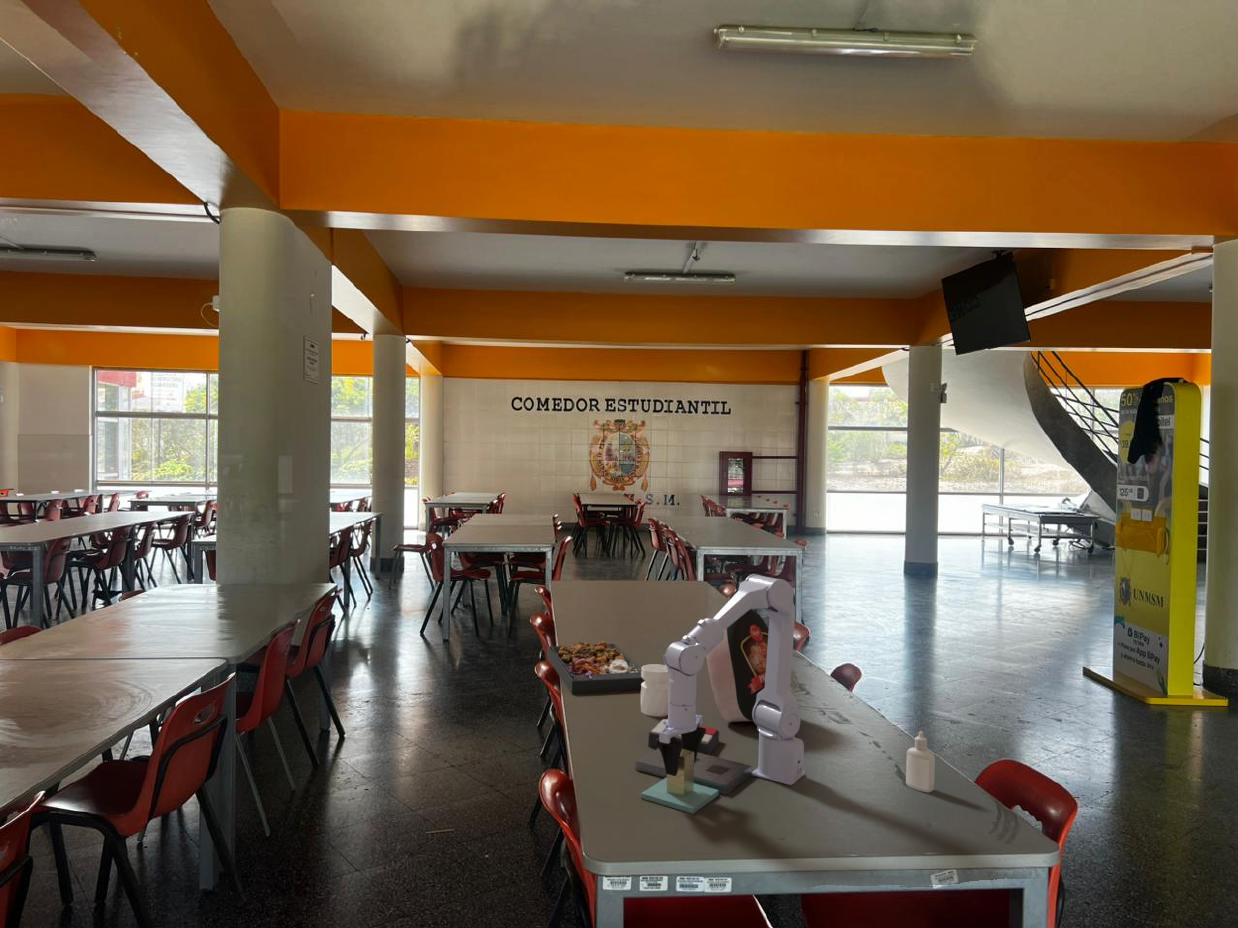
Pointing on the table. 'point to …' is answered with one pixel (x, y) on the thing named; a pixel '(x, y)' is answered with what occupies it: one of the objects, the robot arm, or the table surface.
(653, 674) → the white jar
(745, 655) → the packaged food
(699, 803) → the pad
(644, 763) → the grey square-hole board
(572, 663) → the food platter
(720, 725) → the table surface
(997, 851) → the table surface
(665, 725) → the robot arm
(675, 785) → the wooden block
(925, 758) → the eye dropper bottle
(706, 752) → the calculator
